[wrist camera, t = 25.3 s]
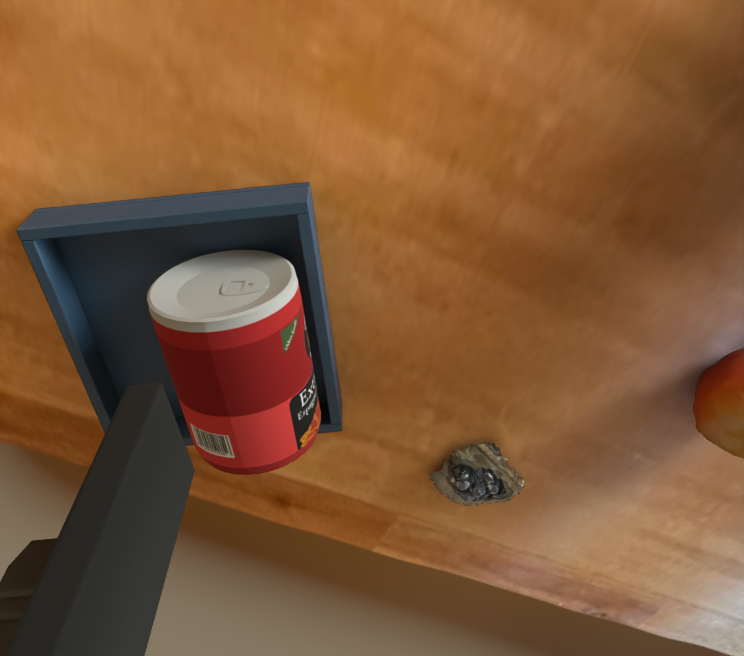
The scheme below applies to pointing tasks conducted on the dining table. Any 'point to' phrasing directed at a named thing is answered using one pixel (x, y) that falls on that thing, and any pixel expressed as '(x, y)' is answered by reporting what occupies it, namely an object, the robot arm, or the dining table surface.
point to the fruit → (722, 403)
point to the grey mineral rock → (477, 476)
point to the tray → (152, 259)
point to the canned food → (239, 358)
